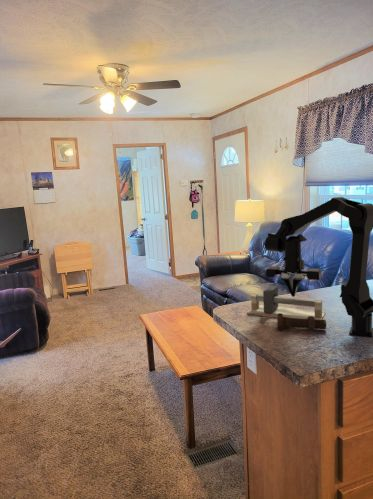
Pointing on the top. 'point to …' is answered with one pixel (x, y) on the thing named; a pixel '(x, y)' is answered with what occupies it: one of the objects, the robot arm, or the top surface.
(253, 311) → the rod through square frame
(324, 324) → the bolt
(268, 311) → the grey square collar
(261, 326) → the top surface
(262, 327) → the top surface
